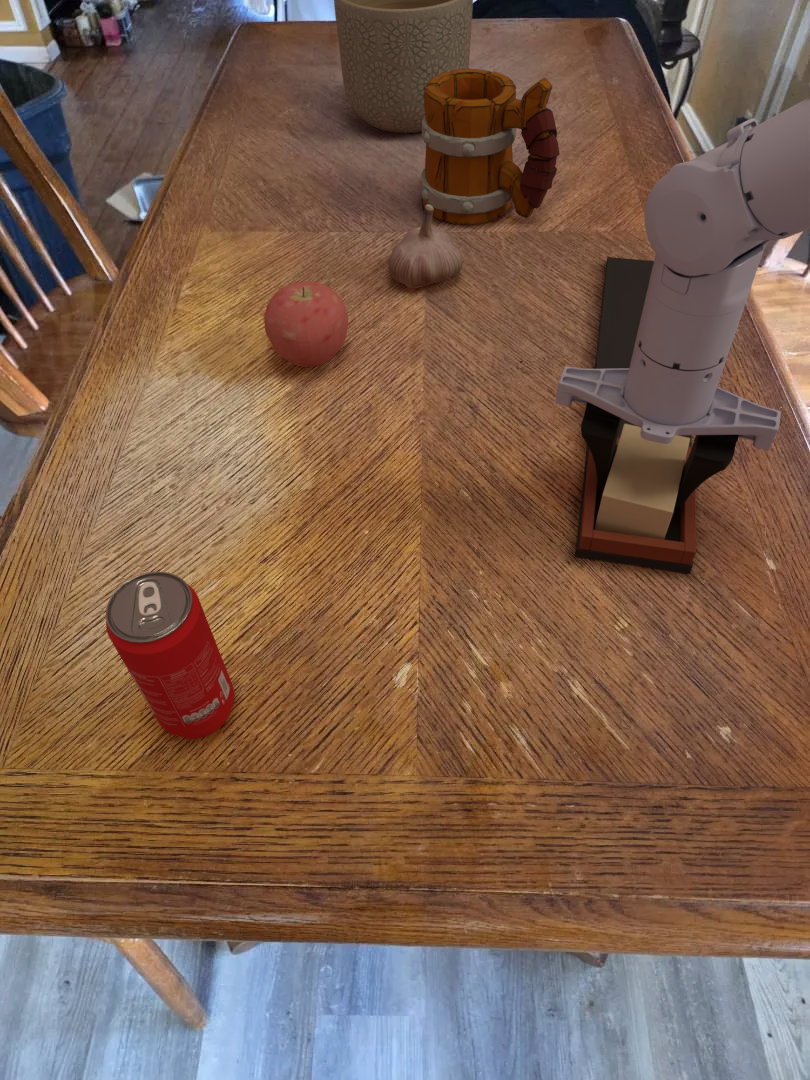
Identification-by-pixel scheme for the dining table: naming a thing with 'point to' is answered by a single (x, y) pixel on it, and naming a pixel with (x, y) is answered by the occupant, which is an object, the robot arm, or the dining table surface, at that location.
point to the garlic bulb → (425, 255)
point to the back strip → (613, 352)
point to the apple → (306, 323)
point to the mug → (485, 146)
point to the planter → (399, 55)
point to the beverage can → (171, 653)
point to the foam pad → (642, 485)
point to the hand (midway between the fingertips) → (640, 489)
